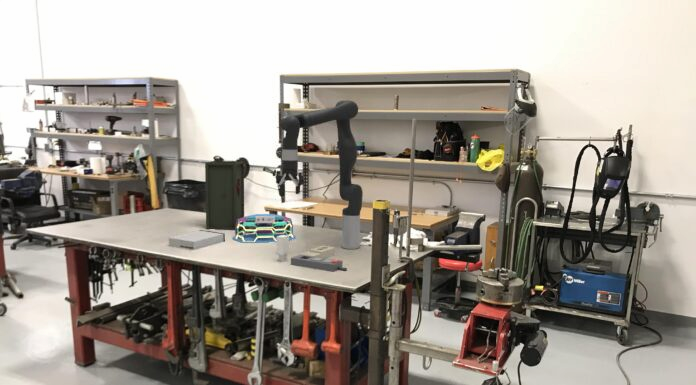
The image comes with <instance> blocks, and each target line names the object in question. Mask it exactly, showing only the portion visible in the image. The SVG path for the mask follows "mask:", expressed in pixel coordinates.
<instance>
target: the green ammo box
mask: <svg viewBox="0 0 696 385" xmlns="http://www.w3.org/2000/svg"><path fill="white" fill-rule="evenodd" d="M204 172H205V173H204V174H205V175H204V178H205V179H204V180H205V183H204V184H205V186H204V187H205V226H206V227H205V228H206V230H210V229H215V230H216V231H218V230H220V231H222V230H223V231H235V227H236V222H237V219H240V218H242V217H245V162H244V161H239V160H238V161H237V160H236V161H234V160H212V161H208V162H205V163H204Z"/></svg>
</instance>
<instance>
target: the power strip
mask: <svg viewBox="0 0 696 385" xmlns="http://www.w3.org/2000/svg"><path fill="white" fill-rule="evenodd" d="M290 265H292V266H297V267H303V268H309V269H310V268H311V269H317V270H323V271H327V272H334V273H335V272H336V271H338V270H339V271H345V272H347V270H348V268H347V267H343V260H341V259H336V258H335V259H334V258H329V257H327V258H322V257H315V256H309V255H302V253H300V254H297V255H295V256H293V257H291V258H290Z"/></svg>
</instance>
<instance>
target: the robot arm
mask: <svg viewBox="0 0 696 385" xmlns="http://www.w3.org/2000/svg"><path fill="white" fill-rule="evenodd" d="M358 113H359V106H358V104H357V103H356V102H355V101H353V100H348V99H347V100H340V101H337V103H336V104H335V106H333V107H330V108H322V109H321V108H320V109H316V110H315V109H313V110H311V111H306V112H303V113H300V114H295V115H294V114H293V115H288V116H285V117H283V118H282V119H281V120H280V128H281V129H282V130H283V131H285V136H284V137H283V139H282V152H281V169H282V170H277V171H276V173H275V174H276V177H275V184H278V185H279V192H280V193H281V194H284V193H285V183H286V182H288V181H290V182H292V183H294V185H295V194H296V195H299V194H300V193H301V186H303V185H304V184H305V181H304V180H305V178H304V177H305V175H304V173H305V172H303V171H301V172H300V171H298V169H299V152H298V150H299V149H298V148H299V147H298V146H299V145H298V140H299V135H300V131H301V130H300V129H302V128H306V129H307V128H310V127H314V126H318V125H322V124H325V123H329V122H333V121H335V122H336V127H337V142H338V159H339V160H338V162H339V189H338V190H339V191H338V192H339V198H340V199H341V200H343V201H347V202H348V206H347V207H344V208H343V209H342V210H341V211H342V213H341V221H342V222H341V248H343V249H347V250H348V249H349V250H351V249H352V250H354V249H355V250H356V249H359V248H360V241H361V240H360V239H361V238H360V237H361V211H362V207H363V196H364V195H363V188H362V186H361V185H360V184H356V183H352V171H353V169H354V167H355V164H356V162H357V160H358V150H357V148H358V147H357V143H356V139H355V137H354V135H353V132H352V130H351V120H352V119H353V118H356V117H357V115H358Z"/></svg>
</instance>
